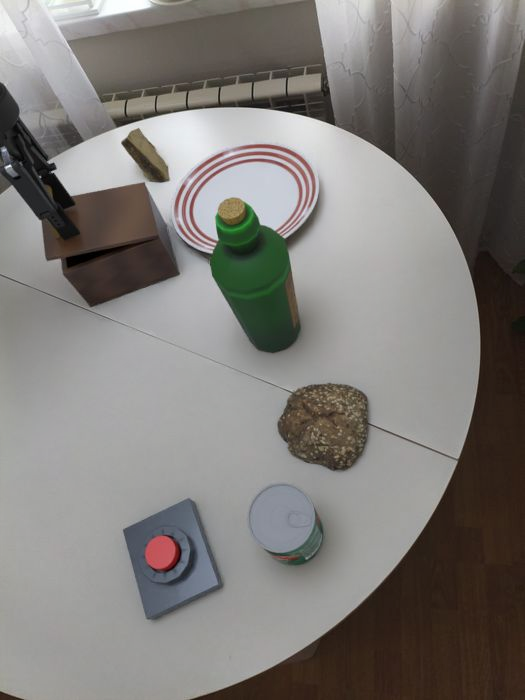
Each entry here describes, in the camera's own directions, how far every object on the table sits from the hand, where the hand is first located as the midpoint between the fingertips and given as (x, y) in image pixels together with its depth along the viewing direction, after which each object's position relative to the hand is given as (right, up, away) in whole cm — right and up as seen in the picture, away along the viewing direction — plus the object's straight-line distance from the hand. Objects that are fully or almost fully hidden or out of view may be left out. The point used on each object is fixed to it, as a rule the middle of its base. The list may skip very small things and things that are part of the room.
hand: (69, 220), depth 89 cm
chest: (+7, -5, +12) cm, 15 cm away
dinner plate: (+28, +6, +13) cm, 32 cm away
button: (+19, -47, -18) cm, 54 cm away
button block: (+19, -49, -15) cm, 54 cm away
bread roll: (+40, -32, -10) cm, 52 cm away
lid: (+4, 0, +2) cm, 5 cm away
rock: (+9, +17, +24) cm, 31 cm away
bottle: (+33, -18, -1) cm, 37 cm away
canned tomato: (+35, -45, -16) cm, 59 cm away
